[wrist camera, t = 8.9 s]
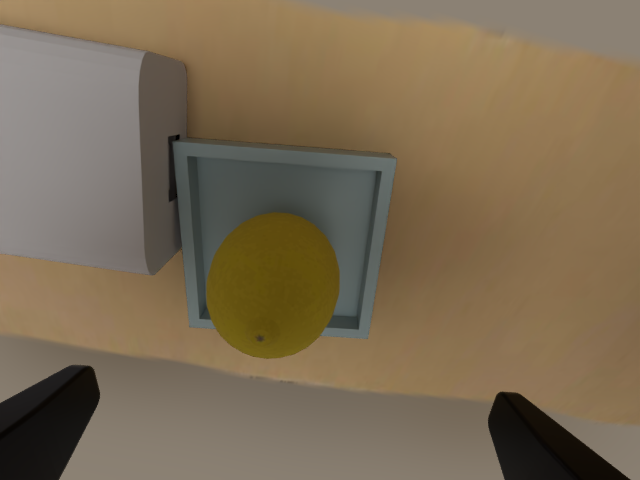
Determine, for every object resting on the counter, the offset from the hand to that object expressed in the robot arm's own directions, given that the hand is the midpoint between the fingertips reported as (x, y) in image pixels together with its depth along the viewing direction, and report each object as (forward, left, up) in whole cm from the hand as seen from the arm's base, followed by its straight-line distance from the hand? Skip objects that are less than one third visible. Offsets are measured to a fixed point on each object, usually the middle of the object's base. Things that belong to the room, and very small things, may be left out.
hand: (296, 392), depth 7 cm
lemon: (+1, +1, -11) cm, 11 cm away
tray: (+1, +1, -12) cm, 12 cm away
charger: (+14, -3, -12) cm, 19 cm away
